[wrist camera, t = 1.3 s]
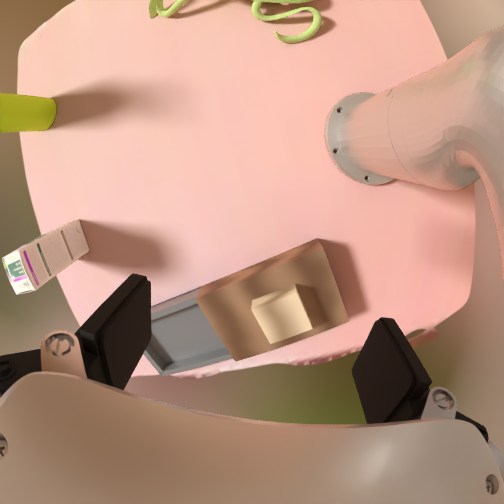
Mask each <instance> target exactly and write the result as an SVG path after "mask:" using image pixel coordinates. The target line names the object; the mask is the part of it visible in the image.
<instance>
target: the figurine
mask: <svg viewBox="0 0 504 504" xmlns="http://www.w3.org/2000/svg"><path fill="white" fill-rule="evenodd" d="M187 1H188V0H177V1H176V2H175V3H174V4H173V5H172V6H171V7H170V8H169V9H168V10H167V11H166V10H165V9H164V7H163V0H150V3H149V13H150V17H151V18H153V17H154V16H155V15H156V14H157V12H158V14H159V16H161V17H169V16H171V15H172V14H174V13H175V12H176V11H177V10H178V9H179V8H180V7H181V6H182V5H183V4H184V3H186V2H187ZM253 1H254V2H253V4H252V8H251V10H252V13H253V16H254V17H256V18H257V19H258V20H264V21H271V20H277V19H282V18H285V17H288V16H290V15H292V14H294V13H297V12H299V11H302V10H307V11H310V12H311V13H312V14H313V22H312V25H311V26H310V27H309V28H308V30H306V31H305V32H304V33H302V34H300V35H297V36H283V35H280V34H278V33H277V32H276V31H274V32H275V35H276V37H277V38H278V39H279V40H281V41H282V42H287V43H297V42H301V41H305V40H307V39H309V38H310V37H312V36H313V35H314V34H315V33H316V32H317V31H318V30H319V28H320V26H321V23H322V16H321V14H320V12H319V11H318V10H316V9H315V8H313V7H302V8H298V9H295V10H292V11H289V12H286V13H282V14H277V15H272V16H266V15H264V14H262V13H261V11H260V7H261V4H262V3H263V2H272V3H280V4H282V5H288V4H289V3H304V2H309V1H312V0H253ZM156 6H157V11H156Z"/></svg>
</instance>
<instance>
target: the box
mask: <svg viewBox="0 0 504 504" xmlns="http://www.w3.org/2000/svg"><path fill="white" fill-rule="evenodd" d="M200 289H201V287H199V288H197V289H194V290H192V291H189V292H187V293H184V294H182V295H179V296H177V297H174V298H172V299H169V300H167V301H164V302H162V303H159V304H157V305H154V306H152V307H151V328H152V336H151V340H150V342H149V344H148V346H147V348H146V349H145V351H144V353H143V354H144V355H145V356H146V358H147V359H148V360H149V361H150V363H151V364H152V365H153V366H154V368H155V369H156V370H157V371H158V372H159V374H160V375H161V376H166V375H170V374H174V373H179V372H183V371H187V370H191V369H195V368H199V367H203V366H207V365H211V364H214V363H218V362H221V361H225V360H228V359H232V358H233V357H232V356H231V354H230V353H229V351H228V350H227V348H226V347H225V345H224V344H223V342H222V341H221V339H220V338H219V336H218V335H217V333H216V332H215V330H214V329H213V327H212V326H211V324H210V322H209V321H208V319H207V318H206V316H205V315H204V313H203V311H202V310H201V308H200V307H199V305H198V303H197V302H196V297H197V295H198V293H199V291H200Z"/></svg>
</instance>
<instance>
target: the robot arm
mask: <svg viewBox="0 0 504 504" xmlns="http://www.w3.org/2000/svg"><path fill="white" fill-rule="evenodd" d="M337 109H338V110H340V113H338V112H337ZM325 141H326V146H327V149H328V152H329V154H330V157H331V158H332V160H333V162H334V163H335V165H336V166H337V167H338V168H339V169H340V171H342V172H343V173H344V174H345V175H346V176H348V177H350V178H351V179H353V180H355V181H358V182H360V183H364V184H368V185H379V184H385V183H387V182H390V181H392V180H393V179H395V178H396V179H400V180H405V181H409V182H413V183H417V184H421V185H425V186H429V187H433V188H437V189H442V190H459V189H462V188H465V187H468V186H470V185H471V184H473V183H474V182H475V181H476V180H477V179H479V178H480V177H481V179H482V182H483V184H484V187H485V190H486V193H487V196H488V200H489V204H490V208H491V211H492V213H493V216H494V220H495V225H496V230H497V236H498V242H499V248H500V256H501V265H502V274H503V281H504V25H503V26H499V27H497V28H495V29H493V30H491V31H489V32H487V33H485V34H483V35H482V36H480V37H479V38H478V39H476V40H475V41H474V42H472V43H471V44H469V45H468V46H467V47H465V48H464V49H463V50H461V51H460V52H459V53H457V54H456V55H455V56H453V57H452V58H450V59H448V60H447V61H445V62H444V63H442V64H441V65H439V66H437V67H435V68H432V69H430V70H428V71H426V72H424V73H422V74H420V75H418V76H416V77H414V78H411V79H409V80H407V81H405V82H403V83H401V84H398V85H396V86H394V87H392V88H390V89H388V90H386V91H383V92H381V93H379V94H373V93H367V92H360V93H355V94H351V95H349V96H347V97H345V98H343V99H342V100H340V101H339V102H338V103H337V104H336V105H335V106H334V107H333V109H332V110H331V112H330V113H329V116H328V118H327V121H326V126H325ZM334 149H335V150H336V153H334V152H333V150H334ZM365 176H367V179H366V180H365ZM151 336H152V328H151V282H150V281H148V280H147V277H146V276H142V275H138V274H131V275H130V276H129V277H128V278H127V279H126V280H125V281H124V282H123V283H122V284H121V285H120V286H119V287H118V288H117V289H116V290H115V291H114V293H113V294H112V295H111V296H110V297H109V298H108V299H107V300H106V301H104V302H103V304H102V305H101V306H100V307H99V308H98V309H97V310H96V311H95V312H94V313H93V314H92V315H91V316H90V317H89V318H88V320H87V321H86V322H85V323H84V324H83V325H82V326H81V327H80V328H79V329H78V331H77V332H76V333H75V334H73V333H71V332H69V331H64V330H58V331H54V332H51V333H49V334H47V335H46V336H45V337H44V338H43V340H42V342H41V346H40V347H41V349H37V350H31V351H26V352H20V353H14V354H8V355H2V356H0V504H504V453H503V452H502V451H501V450H500V449H499V448H498V447H497V446H496V445H495V444H494V443H493V442H491V441H490V442H489V443H488V433H487V430H486V428H485V427H484V426H482V425H480V424H479V423H477V422H475V421H473V420H472V419H470V418H468V417H466V416H464V415H463V414H461V413H459V412H457V411H456V409H457V401H456V398H455V397H454V395H453V394H452V393H451V392H450V391H449V390H447V389H445V388H443V387H434V388H432V389H431V390H430V389H429V386H430V384H431V383H432V381H431V379H430V377H429V375H428V374H427V372H426V370H425V368H424V367H423V365H422V363H421V362H420V360H419V358H418V357H417V355H416V353H415V352H414V350H413V348H412V347H411V345H410V344H409V342H408V340H407V339H406V337H405V336H404V334H403V332H402V331H401V329H400V328H399V326H398V325H397V323H396V322H395V320H394V319H392V318H384V317H381V318H380V319H379V320H377V321H375V323H374V325H373V327H372V329H371V331H370V333H369V336H368V338H367V340H366V342H365V344H364V346H363V348H362V350H361V352H360V354H359V356H358V358H357V360H356V361H355V363H354V365H353V368H352V375H353V378H354V381H355V384H356V388H357V391H358V394H359V397H360V401H361V404H362V407H363V411H364V414H365V418H366V421H367V424H358V425H357V424H355V425H312V424H291V423H279V422H268V421H259V420H251V419H244V418H237V417H230V416H224V415H219V414H213V413H208V412H203V411H198V410H194V409H189V408H185V407H181V406H177V405H173V404H169V403H165V402H161V401H158V400H154V399H151V398H147V397H144V396H140V395H137V394H134V393H130V392H127V391H124V388H125V386H126V384H127V383H128V381H129V379H130V377H131V375H132V373H133V371H134V370H135V368H136V366H137V364H138V362H139V360H140V359H141V357H142V355H143V353H144V351H145V349H146V348H147V346H148V344H149V342H150V340H151Z"/></svg>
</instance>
